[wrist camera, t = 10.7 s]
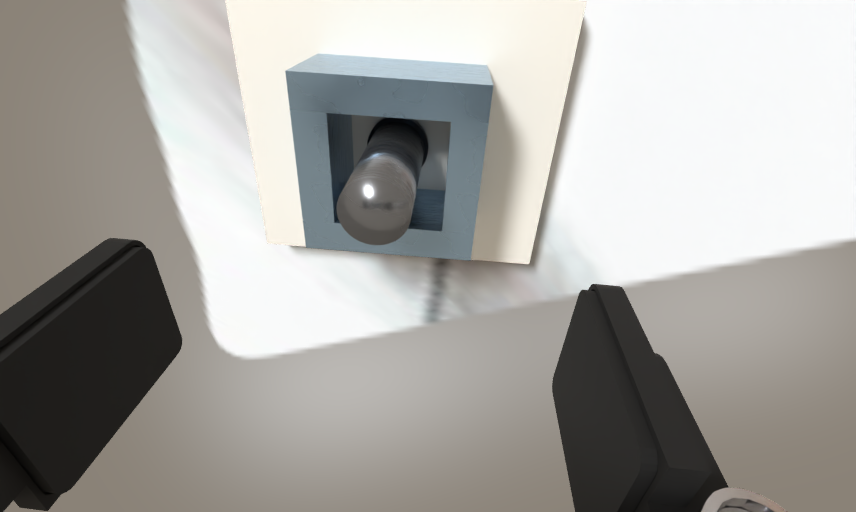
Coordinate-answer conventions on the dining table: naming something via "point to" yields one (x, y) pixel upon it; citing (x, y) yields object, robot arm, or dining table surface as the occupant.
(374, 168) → the steel post
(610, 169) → the dining table surface
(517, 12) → the base plate
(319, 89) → the collar
